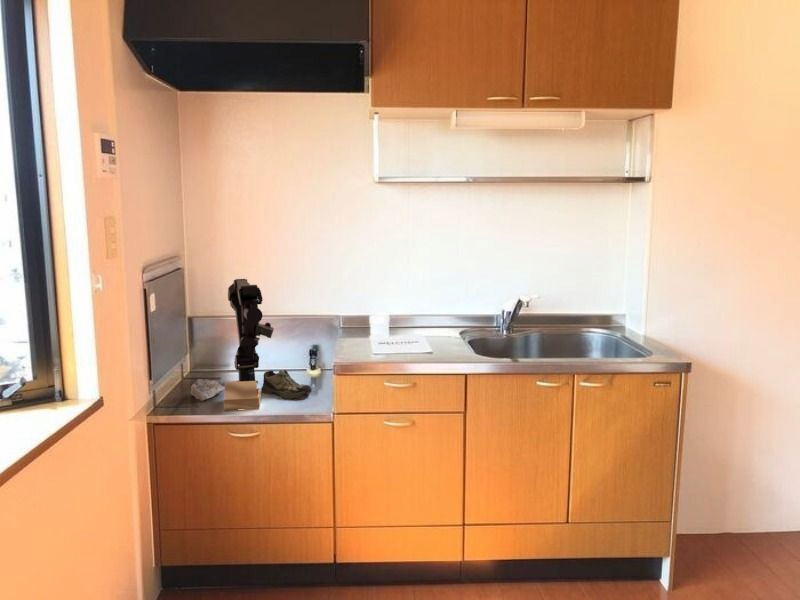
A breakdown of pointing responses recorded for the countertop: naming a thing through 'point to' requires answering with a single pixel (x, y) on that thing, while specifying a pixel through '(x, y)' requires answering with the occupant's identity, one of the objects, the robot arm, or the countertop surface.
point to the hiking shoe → (284, 386)
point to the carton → (243, 402)
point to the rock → (206, 389)
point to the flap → (240, 390)
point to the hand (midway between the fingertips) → (251, 359)
